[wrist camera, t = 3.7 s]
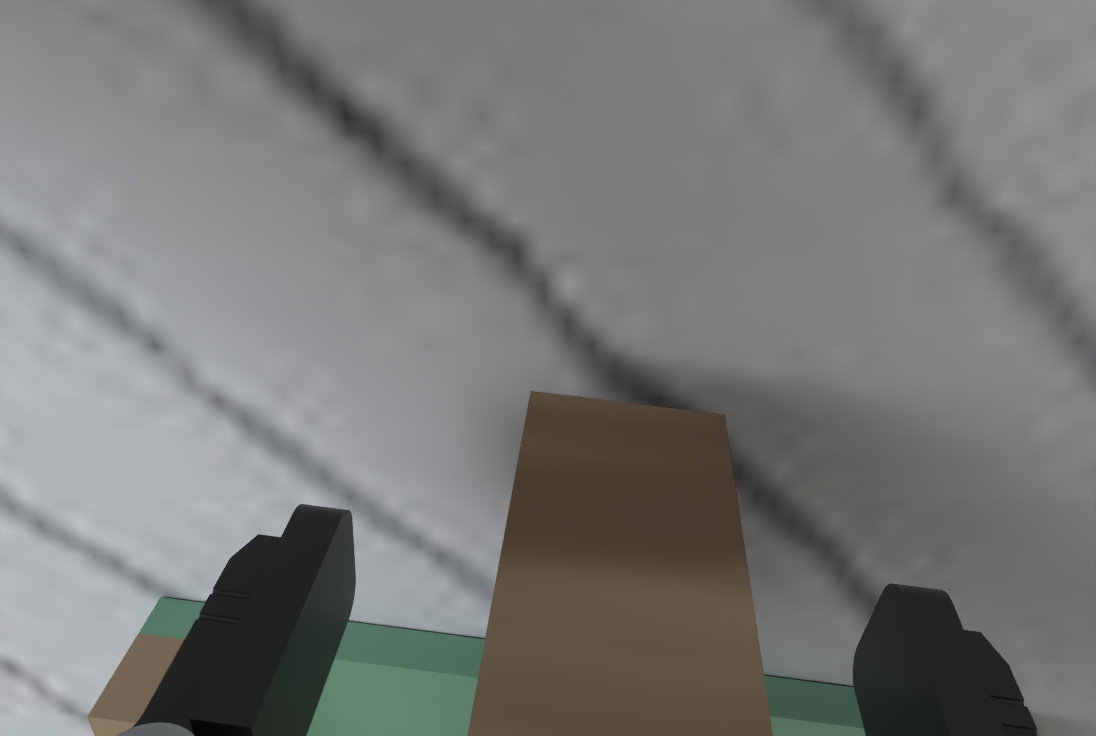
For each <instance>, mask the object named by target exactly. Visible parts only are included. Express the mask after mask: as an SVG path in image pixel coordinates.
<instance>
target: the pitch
mask: <svg viewBox="0 0 1096 736" xmlns="http://www.w3.org/2000/svg"><path fill="white" fill-rule="evenodd" d="M204 604H205V603H202V602H194V601H186V600H179V599H171V598H163V597H161V598H160V599H159V601H158V603H157V604H156V606H155V608H154V609H153V611H152V612H151V614H150V616H149V617H148V619H147V621H146V622H145V624H144V625H143V627H142V629H141V630H140V632H139V634H138V635H137V637H136V639H135V640H134V642H133V643H132V645H131V647H130V648H129V650H128V652H127V653H126V655H125V656H124V658H123V660H122V661H121V663H120V665H119V666H118V668H117V669H116V671H115V673H114V674H113V676H112V678H111V679H110V681H109V682H108V684H107V686H106V687H105V689H104V691H103V692H102V694H101V696H100V697H99V699H98V700H97V702H96V704H95V705H94V707H93V709H92V710H91V712H90V713H89V715H88V719H89V722H90V724H91V727H92V730H93V732H94V735H95V736H116V735H118V734H119V733H121V732H124V731H126V730H128V729H130V728H132V727H133V726H134V725H135V724H136V722H137V721H138V720H139V719H140V717H141V716H142V714H143V713H144V711H145V710H146V708H147V706H148V704H149V702H150V701H151V699H152V697H153V695H154V694H155V692H156V690H157V688H158V686H159V685H160V683H161V681H162V679H163V677H164V676H165V674H166V672H167V670H168V668H169V667H170V665H171V663H172V661H173V660H174V658H175V656H176V654H177V652H178V651H179V649H180V647H181V645H182V643H183V642H184V640H185V638H186V636H187V634H188V633H189V631H190V629H191V627H192V625H193V624H194V622H195V620H196V619H198V618H199V615H200V611H201V609H202V608H203V606H204ZM484 643H485V639H478V638H471V637H463V636H455V635H447V634H440V633H432V632H424V631H417V630H409V629H401V628H394V627H386V626H378V625H371V624H363V623H355V622H348V623H347V626H346V629H345V632H344V634H343V637H342V640H341V642H340V645H339V648H338V651H337V653H336V656H335V659H334V662H333V664H332V667H331V670H330V673H329V675H328V678H327V681H326V684H325V686H324V689H323V692H322V695H321V697H320V700H319V703H318V705H317V708H316V711H315V714H314V716H313V719H312V722H311V725H310V727H309V730H308V733H307V736H467V735H468V729H469V724H470V719H471V713H472V708H473V702H474V697H475V691H476V686H477V681H478V675H479V670H480V664H481V659H482V653H483V648H484ZM764 680H765V687H766V693H767V700H768V707H769V713H770V720H771V726H772V733H773V736H866V734H865V730H864V726H863V722H862V718H861V714H860V710H859V706H858V702H857V698H856V695H855V690H854V687H847V686H839V685H831V684H824V683H816V682H808V681H801V680H793V679H785V678H778V677H770V676H764Z"/></svg>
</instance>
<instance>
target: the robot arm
mask: <svg viewBox="0 0 1096 736" xmlns="http://www.w3.org/2000/svg"><path fill="white" fill-rule="evenodd" d="M355 584H356V575H355V558H354V540H353V523H352V515H351V512H350V511H349V510H343V509H335V508H327V507H320V506H312V505H305V504H300V505H299V506H298V507H297V508H296V509H295V511H294V513H293V514H292V516H291V518H290V520H289V522H288V524H287V526H286V528H285V530H284V532H283V534H282V536H281V537H274V536H266V535H259V534H258V535H257V536H256V537H255V538H253V539H252V540H251V541H250V542H249V543H248V544H246V545H245V546H244V547H243V548H242V549H241V550H239V551H238V552H237V553H236V554H235V555H233V556H232V557H231V558H230V559H229V561H228V563H227V565H226V566H225V568H224V570H223V572H222V574H221V575H220V577H219V579H218V581H217V583H216V584H215V586H214V588H213V593H212V594H210V595H209V597H208V599H207V600H206V602H205V604H204V606H203V608H202V609H201V611H200V615H199V618H198V619H196V620H195V622H194V624H193V625H192V627H191V629H190V631H189V633H188V634H187V636H186V638H185V640H184V642H183V643H182V645H181V647H180V649H179V651H178V652H177V654H176V656H175V658H174V660H173V661H172V663H171V665H170V667H169V668H168V670H167V672H166V674H165V676H164V677H163V679H162V681H161V683H160V685H159V686H158V688H157V690H156V692H155V694H154V695H153V697H152V699H151V701H150V702H149V704H148V706H147V708H146V710H145V711H144V713H143V714H142V716H141V717H140V719H139V720H138V721H137V722H136V724H135V725H134V726H133V727H132V728H130V729H128V730H126V731H124V732H121V733H119V734H118V735H116V736H307V733H308V730H309V727H310V725H311V722H312V719H313V716H314V714H315V711H316V708H317V705H318V703H319V700H320V697H321V695H322V692H323V689H324V686H325V684H326V681H327V678H328V675H329V673H330V670H331V667H332V664H333V662H334V659H335V656H336V653H337V651H338V648H339V645H340V642H341V640H342V637H343V634H344V632H345V629H346V626H347V623H348V620H349V617H350V614H351V610H352V605H353V600H354V594H355ZM853 683H854V690H855V695H856V698H857V702H858V706H859V710H860V714H861V718H862V722H863V726H864V730H865V734H866V736H1037V734H1036V730H1037V728H1036V725H1035V723H1034V721H1033V719H1032V716H1031V714H1030V712H1029V710H1028V707H1025V706H1024V703H1023V702H1024V698H1023V696H1022V694H1021V692H1020V689H1019V687H1018V685H1017V683H1016V680H1015V678H1014V676H1013V674H1012V671H1011V669H1010V667H1009V665H1008V663H1007V662H1006V661H1005V660H1004V659H1003V658H1002V657H1001V655H1000V654H999V653H998V652H997V651H996V650H995V648H994V647H993V646H992V645H991V644H990V643H989V641H988V640H987V639H986V638H985V637H984V636H983V635H982V633H981V632H975V631H967V630H963V627H962V625H961V622H960V620H959V617H958V615H957V612H956V610H955V608H954V605H953V603H952V601H951V598H950V597H949V595H948V594H947V593H946V592H945V591H943V590H937V589H929V588H922V587H914V586H907V585H899V584H889V585H887V586H886V587H885V588H884V590H883V592H882V594H881V596H880V598H879V601H878V603H877V605H876V607H875V609H874V611H873V613H872V616H871V618H870V620H869V622H868V624H867V626H866V629H865V631H864V633H863V635H862V637H861V639H860V641H859V644H858V646H857V648H856V652H855V656H854V663H853Z"/></svg>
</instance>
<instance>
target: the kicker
mask: <svg viewBox="0 0 1096 736" xmlns="http://www.w3.org/2000/svg"><path fill="white" fill-rule="evenodd" d="M467 736H773V733H772V726H771V720H770V713H769V707H768V700H767V693H766V687H765V680H764V673H763V667H762V660H761V654H760V647H759V640H758V634H757V627H756V620H755V614H754V607H753V601H752V594H751V587H750V581H749V574H748V567H747V561H746V554H745V548H744V541H743V534H742V528H741V521H740V514H739V508H738V501H737V495H736V488H735V481H734V475H733V468H732V461H731V455H730V448H729V442H728V435H727V428H726V422H725V415H723V414H715V413H707V412H699V411H691V410H682V409H674V408H666V407H658V406H650V405H641V404H633V403H625V402H617V401H609V400H601V399H592V398H584V397H576V396H568V395H560V394H551V393H543V392H535V391H531V393H530V399H529V404H528V409H527V415H526V420H525V426H524V431H523V436H522V442H521V447H520V453H519V458H518V464H517V469H516V474H515V480H514V485H513V491H512V496H511V502H510V507H509V512H508V518H507V523H506V529H505V534H504V540H503V545H502V550H501V556H500V561H499V567H498V572H497V578H496V583H495V588H494V594H493V599H492V605H491V610H490V615H489V621H488V626H487V632H486V637H485V643H484V648H483V653H482V659H481V664H480V670H479V675H478V681H477V686H476V691H475V697H474V702H473V708H472V713H471V719H470V724H469V729H468V735H467Z"/></svg>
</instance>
